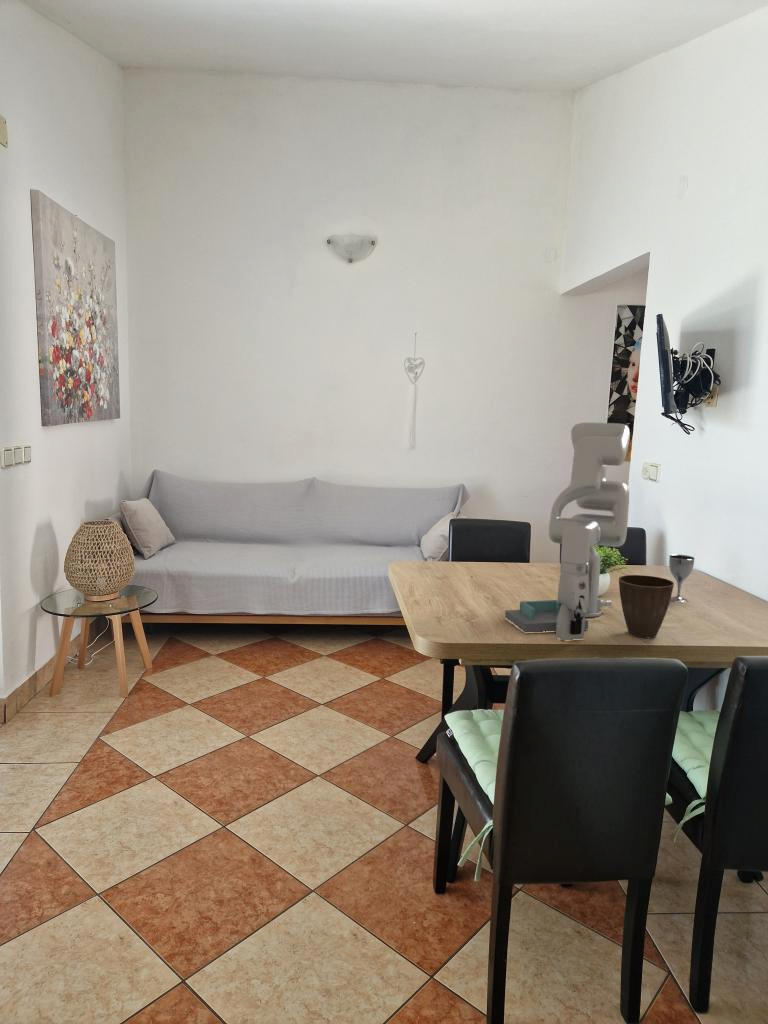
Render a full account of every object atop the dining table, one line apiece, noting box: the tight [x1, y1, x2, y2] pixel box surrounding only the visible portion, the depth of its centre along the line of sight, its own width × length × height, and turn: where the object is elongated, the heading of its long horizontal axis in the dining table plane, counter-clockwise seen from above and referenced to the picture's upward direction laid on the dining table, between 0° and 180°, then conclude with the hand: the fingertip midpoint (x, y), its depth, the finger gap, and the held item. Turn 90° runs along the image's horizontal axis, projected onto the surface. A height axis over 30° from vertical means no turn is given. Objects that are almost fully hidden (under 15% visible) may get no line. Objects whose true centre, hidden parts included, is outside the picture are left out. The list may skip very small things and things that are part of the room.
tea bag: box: [555, 605, 586, 641], centre depth 204 cm, size 4×7×10 cm, turn 107°
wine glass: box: [668, 554, 695, 603], centre depth 250 cm, size 8×8×15 cm
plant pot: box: [618, 574, 675, 638], centre depth 209 cm, size 15×15×16 cm
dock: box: [504, 599, 589, 632], centre depth 217 cm, size 20×14×6 cm
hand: (570, 630), depth 204 cm, fingers open, 5 cm apart
